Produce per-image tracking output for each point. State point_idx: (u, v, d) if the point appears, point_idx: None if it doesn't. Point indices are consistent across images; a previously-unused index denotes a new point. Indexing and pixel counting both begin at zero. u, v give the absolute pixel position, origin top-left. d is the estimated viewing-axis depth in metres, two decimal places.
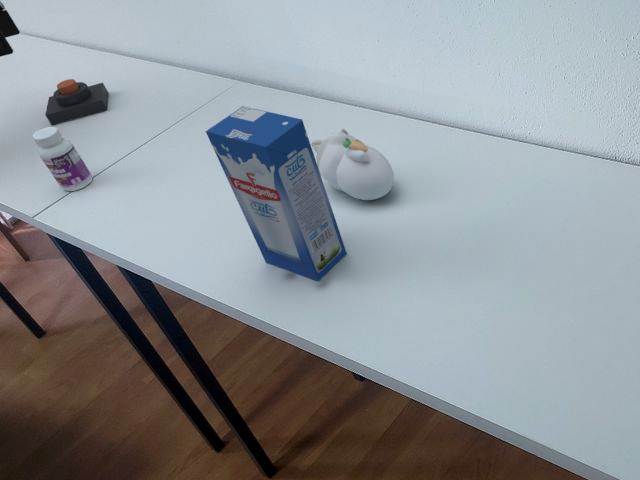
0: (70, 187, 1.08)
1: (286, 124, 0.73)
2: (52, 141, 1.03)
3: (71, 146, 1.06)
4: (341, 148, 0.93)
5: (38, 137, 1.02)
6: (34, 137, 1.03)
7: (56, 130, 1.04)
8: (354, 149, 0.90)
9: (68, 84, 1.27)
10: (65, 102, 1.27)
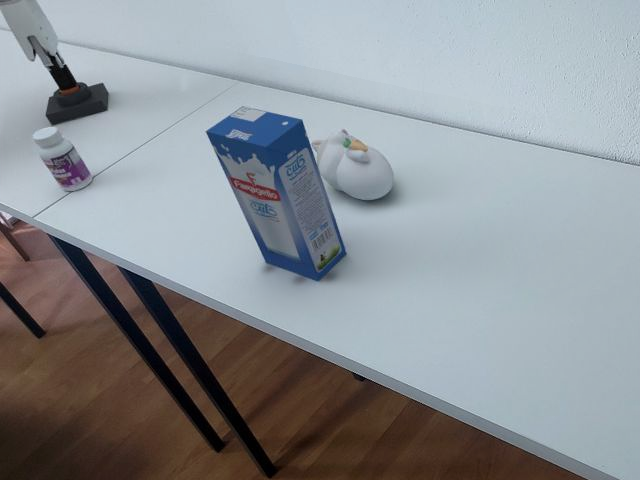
0: (70, 187, 1.08)
1: (286, 124, 0.73)
2: (52, 141, 1.03)
3: (71, 146, 1.06)
4: (341, 148, 0.93)
5: (38, 137, 1.02)
6: (34, 137, 1.03)
7: (56, 130, 1.04)
8: (354, 149, 0.90)
9: (70, 88, 1.28)
10: (65, 102, 1.27)
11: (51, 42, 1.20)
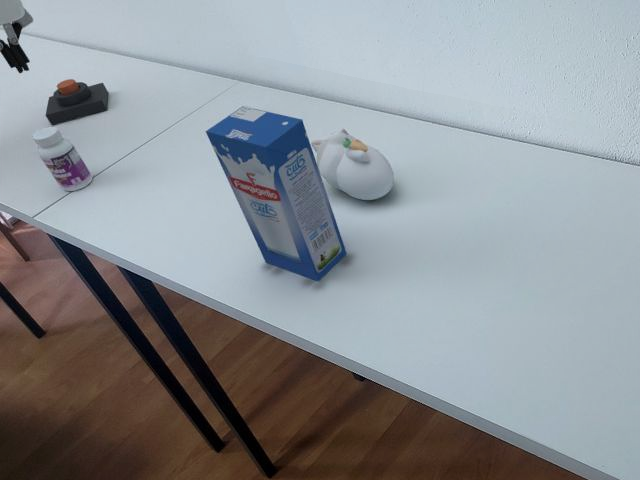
0: (70, 187, 1.08)
1: (286, 124, 0.73)
2: (52, 141, 1.03)
3: (71, 146, 1.06)
4: (341, 148, 0.93)
5: (38, 137, 1.02)
6: (34, 137, 1.03)
7: (56, 130, 1.04)
8: (354, 149, 0.90)
9: (68, 84, 1.27)
10: (65, 102, 1.27)
11: None
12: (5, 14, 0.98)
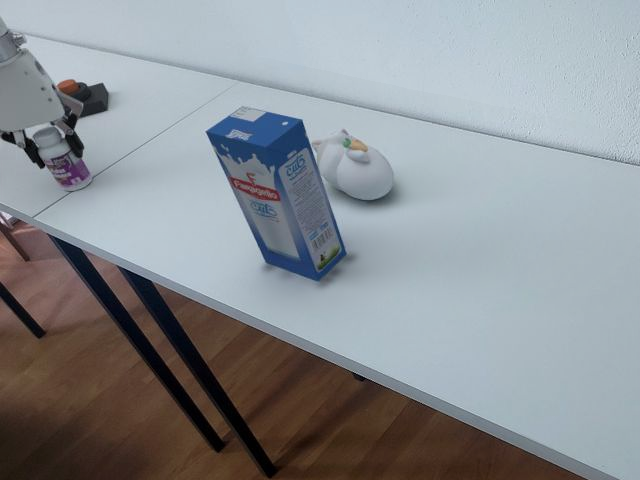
0: (70, 187, 1.08)
1: (286, 124, 0.73)
2: (51, 141, 1.03)
3: None
4: (341, 148, 0.93)
5: (38, 138, 1.02)
6: (34, 137, 1.03)
7: (56, 130, 1.04)
8: (354, 149, 0.90)
9: (68, 84, 1.27)
10: None
11: (8, 120, 0.99)
12: (45, 115, 1.00)
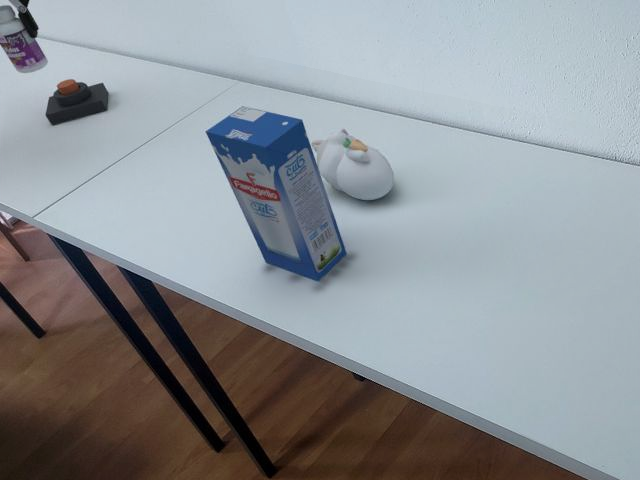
0: (25, 68, 1.10)
1: (286, 124, 0.73)
2: (5, 17, 1.05)
3: None
4: (341, 148, 0.93)
5: None
6: None
7: (9, 7, 1.06)
8: (354, 149, 0.90)
9: (68, 84, 1.27)
10: (65, 102, 1.27)
11: None
12: None
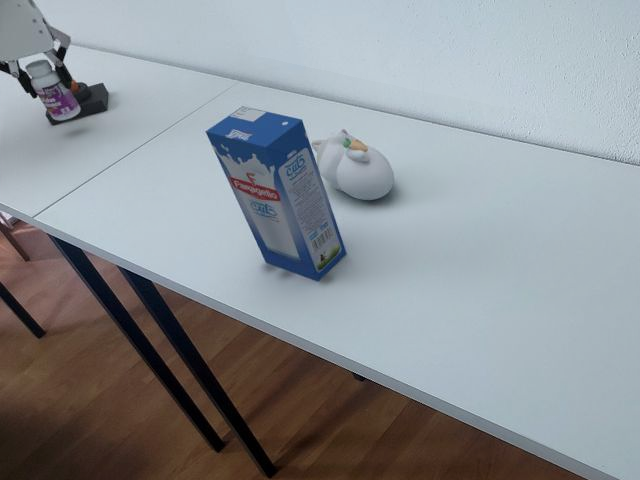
0: (60, 116, 1.19)
1: (286, 124, 0.73)
2: (43, 71, 1.14)
3: None
4: (341, 148, 0.93)
5: (31, 68, 1.13)
6: (27, 68, 1.14)
7: (47, 62, 1.15)
8: (354, 149, 0.90)
9: None
10: None
11: (3, 49, 1.10)
12: (36, 46, 1.11)
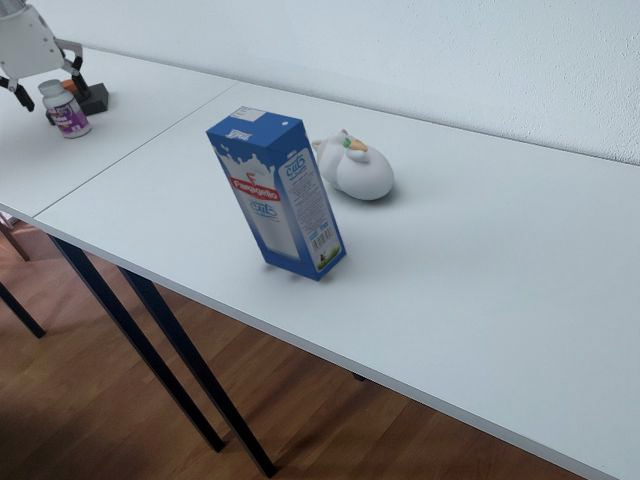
0: (71, 134, 1.22)
1: (286, 124, 0.73)
2: (55, 91, 1.17)
3: (72, 97, 1.19)
4: (341, 148, 0.93)
5: (43, 88, 1.16)
6: (39, 87, 1.16)
7: (58, 82, 1.17)
8: (354, 149, 0.90)
9: (68, 84, 1.27)
10: None
11: (14, 67, 1.12)
12: (47, 64, 1.13)
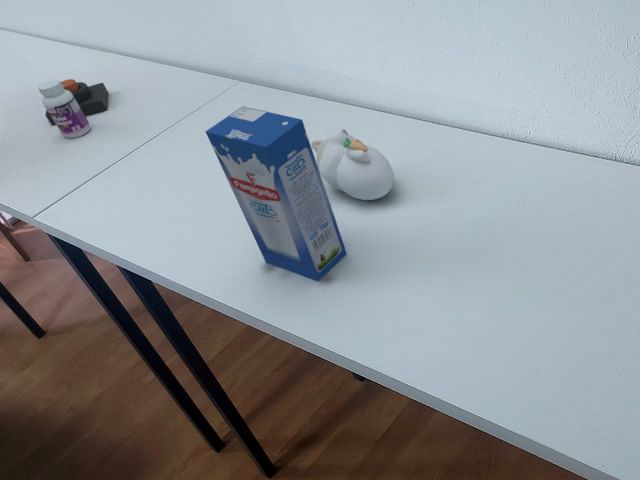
0: (71, 134, 1.22)
1: (286, 124, 0.73)
2: (55, 91, 1.17)
3: (72, 97, 1.19)
4: (341, 148, 0.93)
5: (43, 88, 1.16)
6: (39, 87, 1.16)
7: (58, 82, 1.17)
8: (354, 149, 0.90)
9: (68, 84, 1.27)
10: None
11: None
12: None
